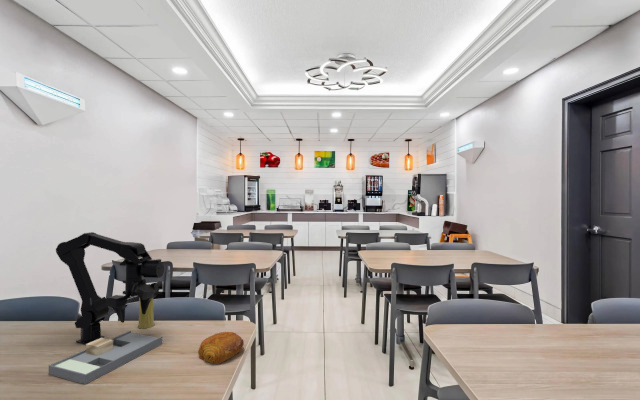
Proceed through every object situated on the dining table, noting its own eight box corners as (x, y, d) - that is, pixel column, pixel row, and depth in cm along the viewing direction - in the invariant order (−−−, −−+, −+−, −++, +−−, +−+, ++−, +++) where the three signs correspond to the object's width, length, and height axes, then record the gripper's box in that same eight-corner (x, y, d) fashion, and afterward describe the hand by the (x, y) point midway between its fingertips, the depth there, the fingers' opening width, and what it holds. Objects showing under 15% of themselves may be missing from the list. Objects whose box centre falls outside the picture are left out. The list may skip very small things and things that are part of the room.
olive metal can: (147, 329, 135) (147, 295, 135) (134, 328, 136) (134, 294, 136) (157, 323, 141) (157, 290, 141) (144, 322, 142) (145, 290, 142)
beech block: (85, 353, 110) (85, 344, 110) (101, 346, 115) (101, 337, 115) (97, 355, 108) (97, 346, 108) (113, 348, 113) (113, 339, 113)
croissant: (250, 355, 118) (252, 332, 119) (219, 369, 104) (222, 343, 105) (219, 346, 124) (222, 324, 125) (187, 357, 110) (190, 333, 111)
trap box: (48, 374, 100) (48, 365, 100) (130, 337, 127) (130, 330, 127) (85, 384, 95) (85, 375, 95) (162, 343, 121) (162, 336, 121)
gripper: (128, 285, 112) (127, 330, 112) (169, 273, 129) (169, 312, 129) (104, 282, 116) (104, 325, 116) (148, 271, 133) (147, 309, 133)
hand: (133, 318), depth 123 cm, fingers open, 9 cm apart
